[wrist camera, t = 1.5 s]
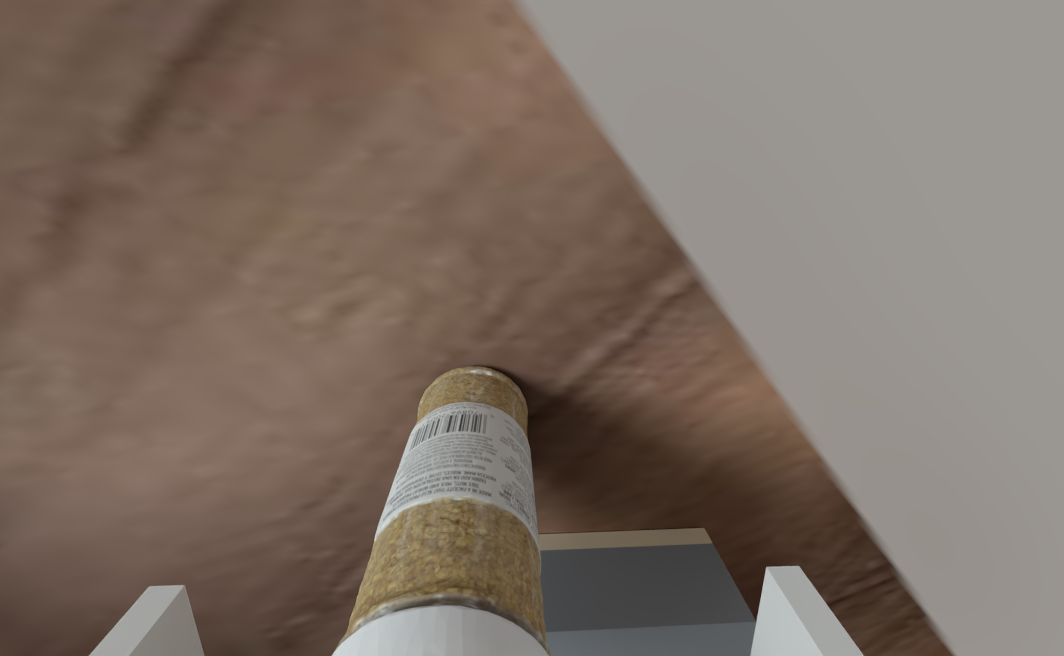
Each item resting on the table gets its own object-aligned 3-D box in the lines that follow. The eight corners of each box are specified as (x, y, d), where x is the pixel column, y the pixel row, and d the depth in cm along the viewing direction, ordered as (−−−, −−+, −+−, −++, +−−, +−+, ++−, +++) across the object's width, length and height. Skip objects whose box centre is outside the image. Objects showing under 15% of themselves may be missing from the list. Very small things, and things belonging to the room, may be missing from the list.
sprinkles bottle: (420, 458, 21) (288, 909, 8) (419, 359, 20) (259, 715, 7) (526, 460, 21) (560, 898, 9) (533, 363, 20) (585, 711, 7)
